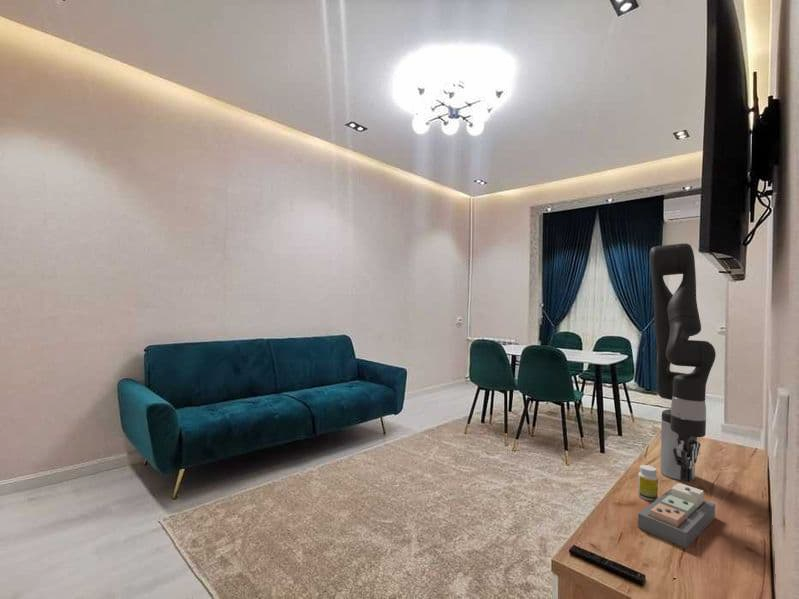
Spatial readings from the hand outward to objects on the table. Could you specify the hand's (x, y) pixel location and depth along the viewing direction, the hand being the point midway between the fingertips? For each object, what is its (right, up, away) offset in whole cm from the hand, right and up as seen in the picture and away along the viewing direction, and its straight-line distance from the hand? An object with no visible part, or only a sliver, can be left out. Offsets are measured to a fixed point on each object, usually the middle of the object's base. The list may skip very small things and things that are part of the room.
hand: (686, 480), depth 104 cm
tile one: (0, -5, 0) cm, 5 cm away
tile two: (-5, -7, -4) cm, 9 cm away
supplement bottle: (-5, -9, +9) cm, 13 cm away
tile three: (-11, -6, -9) cm, 15 cm away
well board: (-5, -9, -4) cm, 11 cm away
